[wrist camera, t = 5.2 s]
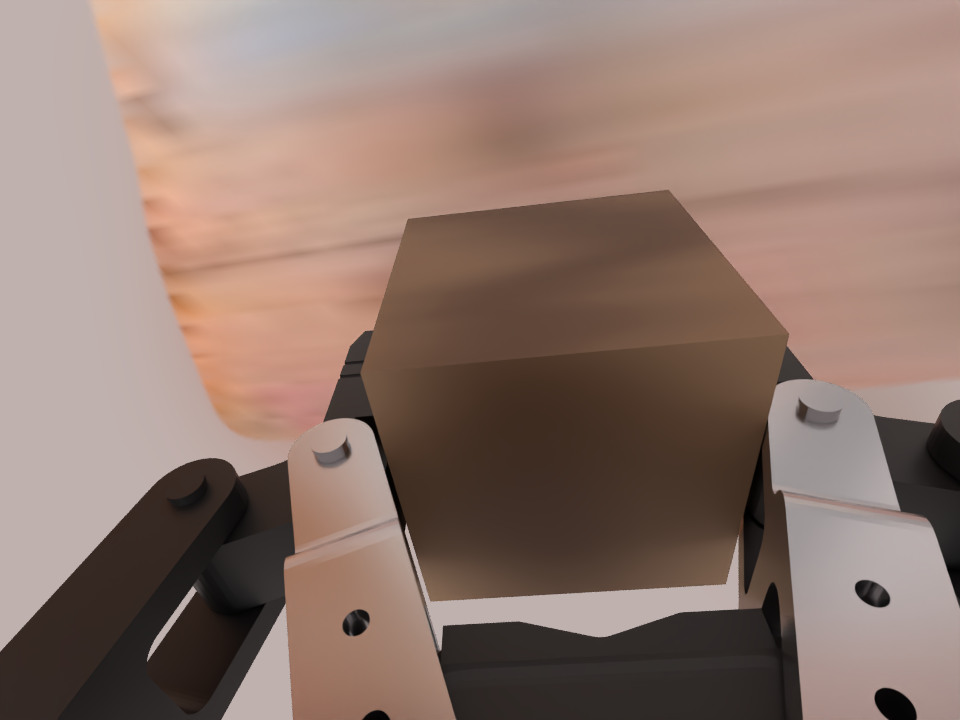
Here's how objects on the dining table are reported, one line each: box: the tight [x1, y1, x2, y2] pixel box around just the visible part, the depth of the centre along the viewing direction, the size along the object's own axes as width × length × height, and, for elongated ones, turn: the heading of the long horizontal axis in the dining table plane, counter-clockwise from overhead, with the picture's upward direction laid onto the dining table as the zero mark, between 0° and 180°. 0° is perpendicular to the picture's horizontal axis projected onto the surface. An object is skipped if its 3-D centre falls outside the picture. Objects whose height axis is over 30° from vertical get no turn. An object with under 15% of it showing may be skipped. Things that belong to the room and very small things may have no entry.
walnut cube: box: [360, 190, 789, 601], centre depth 10 cm, size 5×5×5 cm
